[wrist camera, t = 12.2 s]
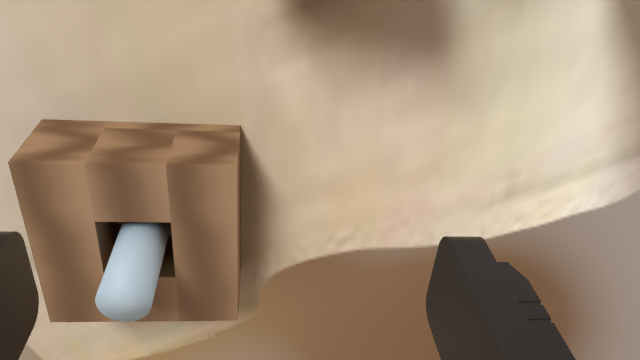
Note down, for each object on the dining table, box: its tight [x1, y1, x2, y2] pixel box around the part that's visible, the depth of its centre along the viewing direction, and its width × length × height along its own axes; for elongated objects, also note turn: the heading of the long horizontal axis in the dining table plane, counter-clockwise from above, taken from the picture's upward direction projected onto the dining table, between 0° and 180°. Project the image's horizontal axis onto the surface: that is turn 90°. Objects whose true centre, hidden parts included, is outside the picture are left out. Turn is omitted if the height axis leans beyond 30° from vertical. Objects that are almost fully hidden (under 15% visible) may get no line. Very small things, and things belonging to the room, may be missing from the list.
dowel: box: [95, 222, 171, 322], centre depth 38 cm, size 3×3×10 cm
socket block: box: [8, 120, 241, 322], centre depth 40 cm, size 14×14×6 cm
